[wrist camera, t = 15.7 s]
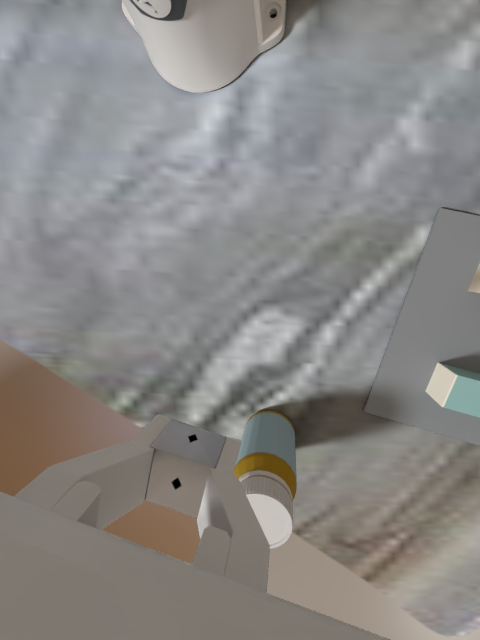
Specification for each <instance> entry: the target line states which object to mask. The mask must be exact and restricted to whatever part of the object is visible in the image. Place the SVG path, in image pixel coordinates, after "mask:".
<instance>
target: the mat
mask: <svg viewBox="0 0 480 640" xmlns="http://www.w3.org/2000/svg"><path fill="white" fill-rule="evenodd" d="M479 264H480V216H477V215H472V214H468V213H463V212H458V211H453V210H448V209H443V208H439V209H438V212H437V214H436V217H435V220H434V222H433V225H432V228H431V230H430V233H429V236H428V238H427V241H426V244H425V246H424V249H423V252H422V254H421V257H420V260H419V262H418V265H417V268H416V271H415V273H414V276H413V279H412V281H411V284H410V287H409V289H408V292H407V295H406V297H405V300H404V303H403V305H402V308H401V311H400V313H399V316H398V319H397V321H396V324H395V327H394V329H393V332H392V335H391V337H390V340H389V343H388V345H387V348H386V351H385V353H384V356H383V359H382V361H381V364H380V367H379V370H378V372H377V375H376V378H375V380H374V383H373V386H372V388H371V391H370V394H369V396H368V399H367V402H366V404H365V407H364V410H363V411H364V412H366V413H369V414H373V415H376V416H380V417H383V418H386V419H390V420H393V421H397V422H400V423H404V424H407V425H410V426H414V427H417V428H421V429H424V430H428V431H431V432H434V433H438V434H441V435H445V436H448V437H452V438H455V439H458V440H462V441H465V442H469V443H472V444H476V445H479V446H480V418H479V417H476V416H472V415H469V414H465V413H461V412H458V411H454V410H451V409H447V408H444V407H441V406H440V405H439V404H438V403H437V402H436V401H435V400H434V399H433V398H432V397H431V396H430V395H429V394H428V393H427V392H426V389H427V386H428V384H429V382H430V379H431V377H432V375H433V372H434V370H435V367H436V365H437V363H442V364H446V365H450V366H453V367H457V368H461V369H465V370H468V371H472V372H476V373H480V294H478V293H474V292H470V291H468V290H469V287H470V285H471V283H472V280H473V278H474V275H475V273H476V271H477V268H478V266H479Z"/></svg>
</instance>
